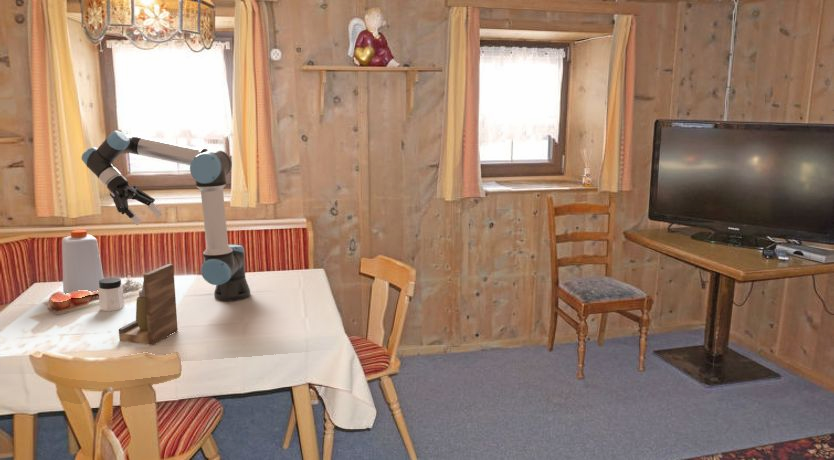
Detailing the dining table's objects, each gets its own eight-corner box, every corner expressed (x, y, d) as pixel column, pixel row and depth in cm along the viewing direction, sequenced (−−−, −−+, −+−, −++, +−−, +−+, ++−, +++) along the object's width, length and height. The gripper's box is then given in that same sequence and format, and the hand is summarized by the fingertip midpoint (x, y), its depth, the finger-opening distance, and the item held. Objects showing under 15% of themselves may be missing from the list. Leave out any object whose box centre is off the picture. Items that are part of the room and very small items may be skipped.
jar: (101, 312, 247) (98, 284, 244) (99, 306, 254) (96, 279, 251) (125, 309, 252) (123, 281, 249) (122, 303, 259) (120, 276, 256)
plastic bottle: (98, 285, 281) (93, 225, 275) (108, 293, 270) (102, 231, 264) (61, 291, 272) (54, 230, 266) (69, 300, 261) (63, 236, 255)
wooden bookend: (177, 331, 230) (173, 264, 224) (153, 345, 217) (148, 274, 211) (145, 327, 233) (139, 261, 228) (119, 340, 220) (113, 271, 214)
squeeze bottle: (141, 324, 228) (137, 278, 224) (163, 324, 229) (160, 277, 225) (133, 332, 220) (129, 284, 216) (156, 332, 221) (153, 284, 217)
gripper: (129, 183, 259) (164, 219, 260) (86, 191, 236) (124, 232, 236) (139, 171, 257) (174, 207, 257) (97, 178, 233) (135, 219, 233)
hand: (150, 219), depth 246 cm, fingers open, 13 cm apart
